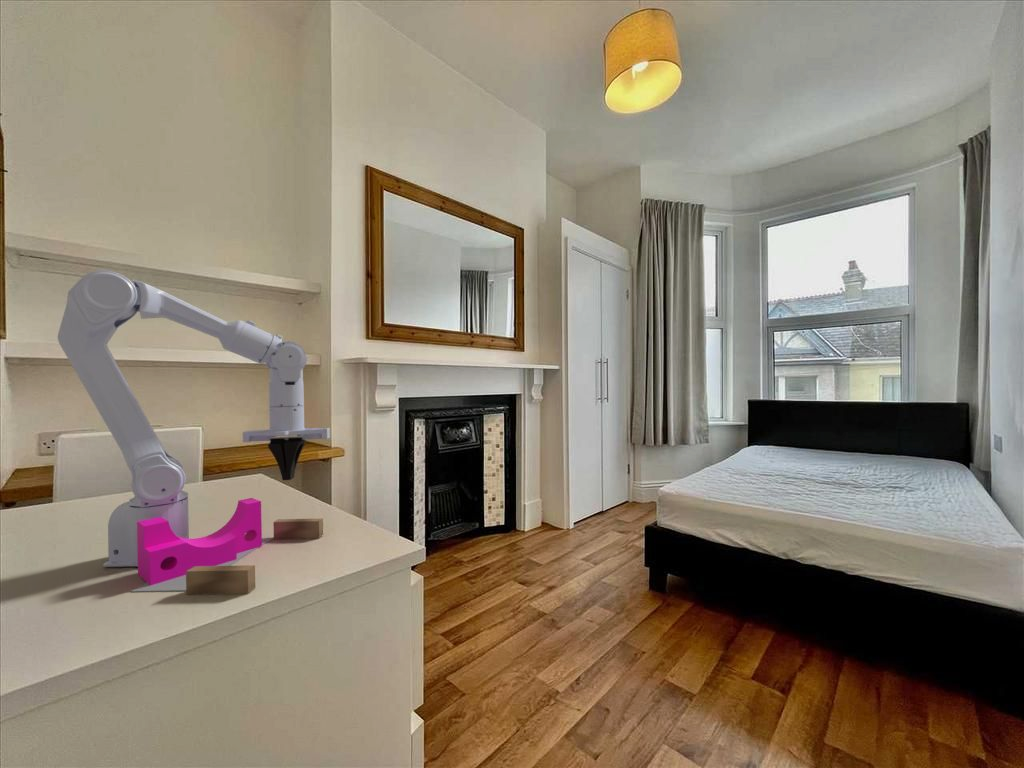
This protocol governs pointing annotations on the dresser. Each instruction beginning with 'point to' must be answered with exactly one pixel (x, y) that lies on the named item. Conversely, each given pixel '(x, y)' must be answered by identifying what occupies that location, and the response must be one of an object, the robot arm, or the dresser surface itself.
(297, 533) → the pair of brown pieces
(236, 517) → the toy block
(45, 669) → the dresser surface
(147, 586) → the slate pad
